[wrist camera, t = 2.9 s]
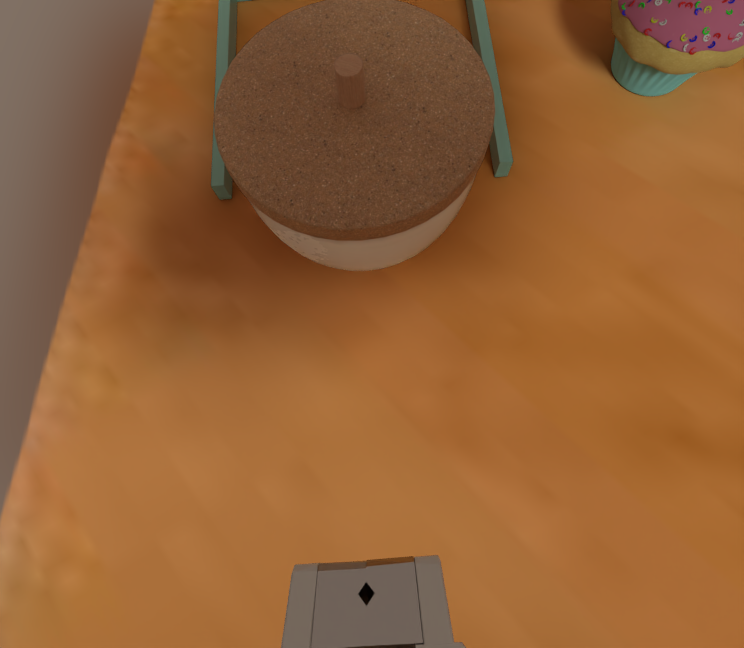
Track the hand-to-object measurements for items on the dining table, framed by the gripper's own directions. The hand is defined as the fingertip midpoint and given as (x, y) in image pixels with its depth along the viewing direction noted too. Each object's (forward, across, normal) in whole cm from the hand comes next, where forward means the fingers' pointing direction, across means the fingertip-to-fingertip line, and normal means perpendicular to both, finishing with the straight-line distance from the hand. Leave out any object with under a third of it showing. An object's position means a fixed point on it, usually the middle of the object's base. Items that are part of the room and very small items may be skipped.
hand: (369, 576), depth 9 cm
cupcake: (+29, -20, -8) cm, 36 cm away
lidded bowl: (+23, 0, -2) cm, 23 cm away
